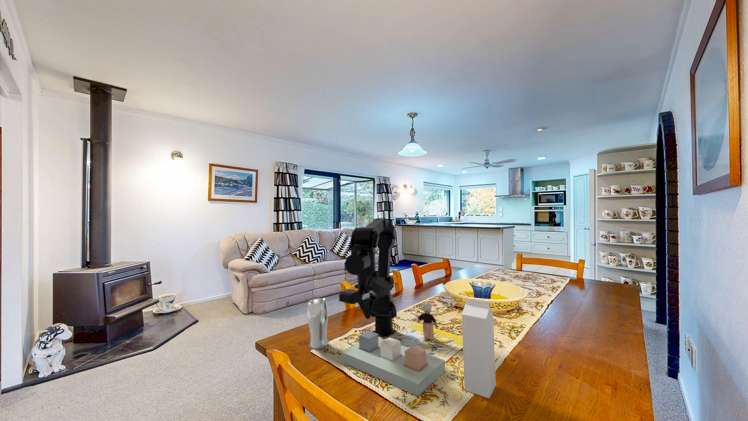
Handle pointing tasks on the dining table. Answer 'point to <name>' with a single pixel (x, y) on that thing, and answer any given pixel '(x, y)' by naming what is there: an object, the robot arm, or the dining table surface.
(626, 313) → the dining table surface
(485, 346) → the milk
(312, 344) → the beer glass
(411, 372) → the console
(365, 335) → the slate key
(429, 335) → the grandmother figurine
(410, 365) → the terracotta key
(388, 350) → the light grey cube
